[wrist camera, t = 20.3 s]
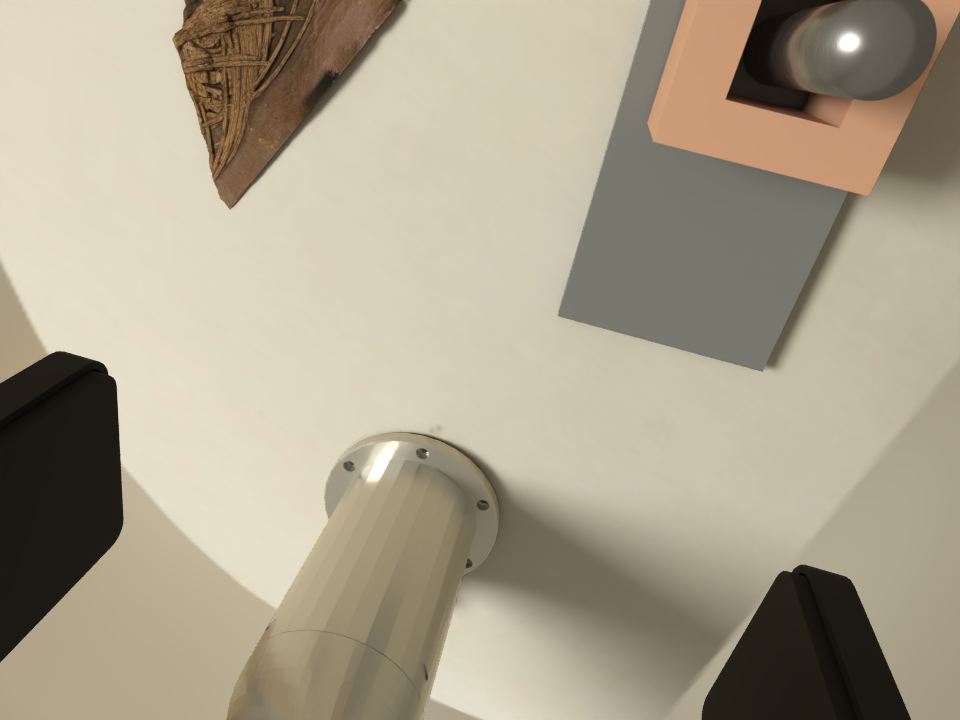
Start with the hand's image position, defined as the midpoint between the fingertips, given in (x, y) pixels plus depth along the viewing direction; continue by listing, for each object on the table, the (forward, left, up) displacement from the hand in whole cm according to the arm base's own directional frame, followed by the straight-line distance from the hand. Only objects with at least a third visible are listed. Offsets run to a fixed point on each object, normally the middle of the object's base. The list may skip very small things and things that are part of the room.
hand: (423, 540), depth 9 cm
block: (+7, -8, -29) cm, 31 cm away
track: (+4, -8, -30) cm, 32 cm away
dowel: (+7, -8, -29) cm, 31 cm away
